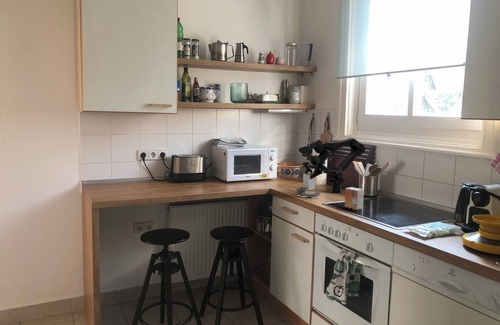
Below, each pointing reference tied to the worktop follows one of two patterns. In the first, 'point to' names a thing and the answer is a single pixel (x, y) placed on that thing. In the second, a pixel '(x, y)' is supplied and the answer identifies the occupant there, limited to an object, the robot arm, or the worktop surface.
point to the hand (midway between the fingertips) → (307, 178)
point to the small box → (354, 198)
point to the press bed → (306, 192)
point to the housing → (308, 181)
